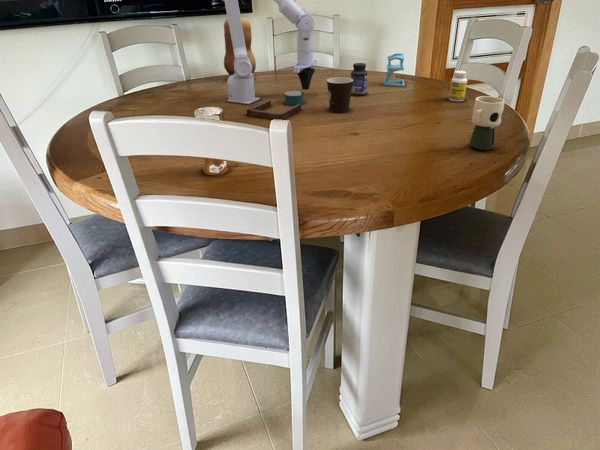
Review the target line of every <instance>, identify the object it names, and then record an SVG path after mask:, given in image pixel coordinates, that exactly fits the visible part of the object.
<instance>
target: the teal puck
mask: <svg viewBox="0 0 600 450" xmlns="http://www.w3.org/2000/svg"><path fill="white" fill-rule="evenodd" d="M284 104H285V105H286V106H292V107H294V106H295V105H297V104H301V106H303V105H304V104H305V92H304V91H300V90H289V91H285V92H284Z"/></svg>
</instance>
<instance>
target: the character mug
mask: <svg viewBox="0 0 600 450" xmlns="http://www.w3.org/2000/svg"><path fill="white" fill-rule="evenodd" d="M505 102H506V101H505V99H504V98H502V97H499V96H492V95H482V96H477V97H475V100H474V106H473V110H472V116H471V123H472V124H474V125H475V126H474V128H473V130H472V134H471V136H470V140H469V144H468V145H469V146H471V147H473V148H474V149H477V150H481V151H482V150H484V151H490V150H492V148H493V149H494V148H495V142H496V141H495V140H496V139H495V138H496V128H495V127H499V126H500V125H501V123H502V115H503V113H504V109H505V104H506V103H505Z"/></svg>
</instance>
